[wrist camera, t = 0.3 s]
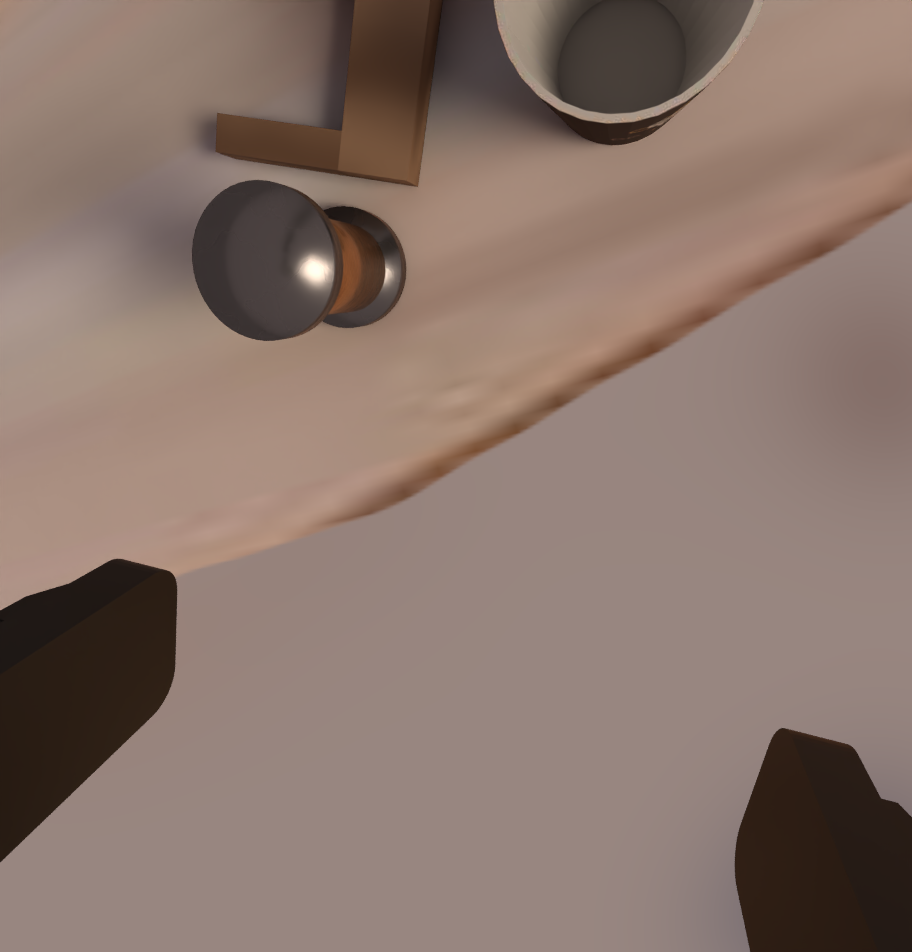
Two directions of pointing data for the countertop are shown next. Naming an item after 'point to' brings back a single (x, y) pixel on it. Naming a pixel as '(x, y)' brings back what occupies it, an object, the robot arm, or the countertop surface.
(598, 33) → the coffee mug
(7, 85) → the countertop surface
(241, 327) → the bobbin
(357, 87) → the u-shaped bracket
